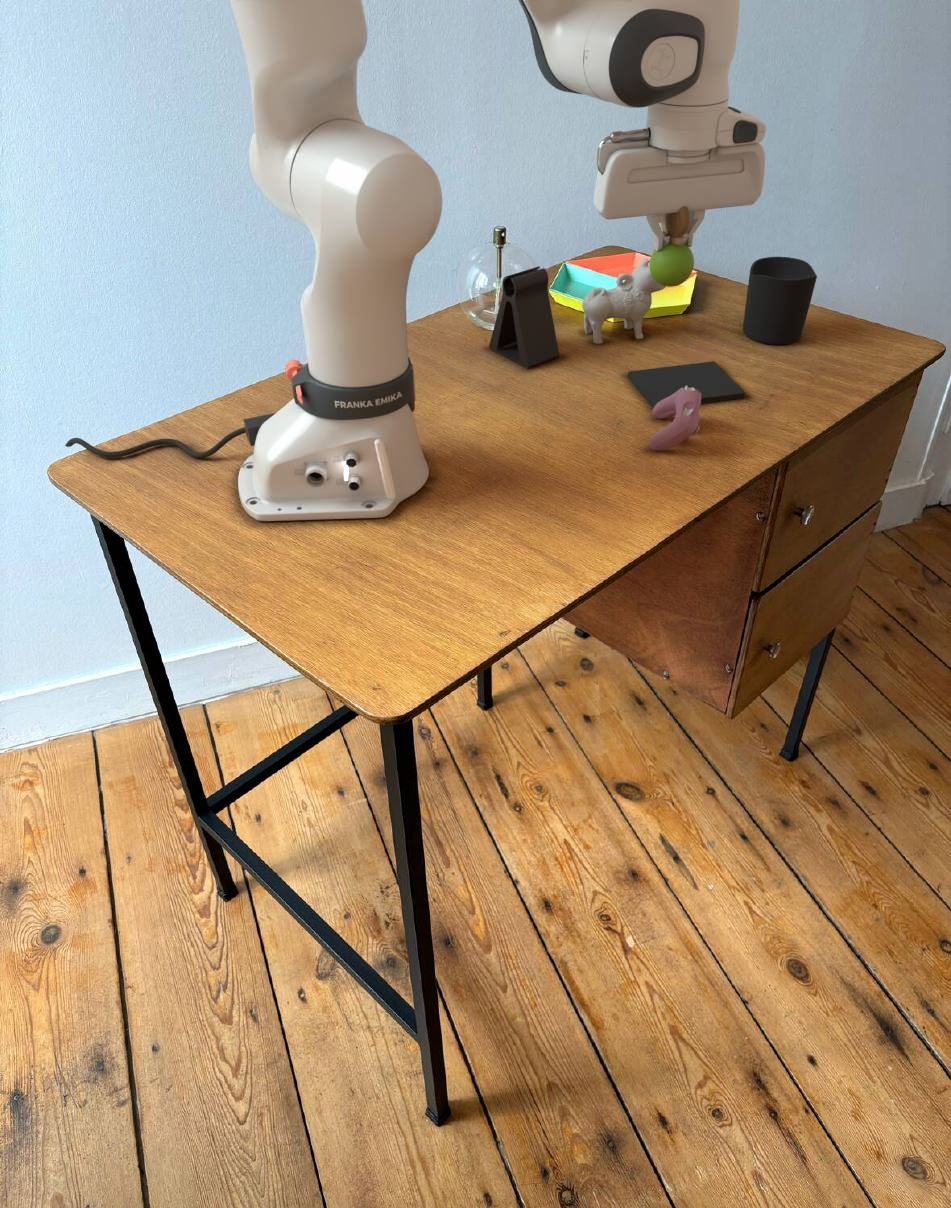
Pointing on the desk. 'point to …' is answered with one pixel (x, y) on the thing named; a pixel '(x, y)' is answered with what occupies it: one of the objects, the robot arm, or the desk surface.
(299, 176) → the robot arm
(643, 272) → the dog figurine
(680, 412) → the video game controller
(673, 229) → the snail figurine
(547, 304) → the phone stand
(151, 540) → the desk surface
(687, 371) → the mat
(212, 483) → the desk surface
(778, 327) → the pen holder
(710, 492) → the desk surface
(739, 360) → the desk surface
